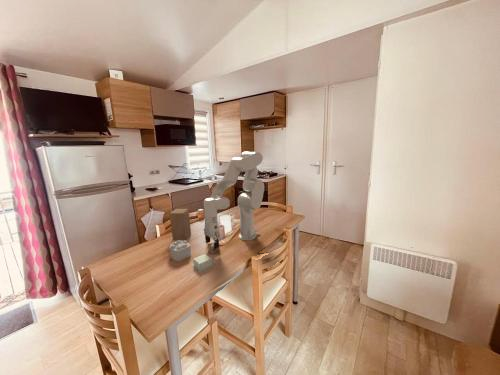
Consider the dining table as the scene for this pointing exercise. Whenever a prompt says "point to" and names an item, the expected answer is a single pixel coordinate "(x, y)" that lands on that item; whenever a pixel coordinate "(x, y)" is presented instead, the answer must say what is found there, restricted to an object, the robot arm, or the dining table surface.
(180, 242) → the lumpy-topped squat cylinder
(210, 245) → the walnut cube
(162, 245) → the dining table surface
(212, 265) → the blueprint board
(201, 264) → the base block
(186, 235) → the wooden block
